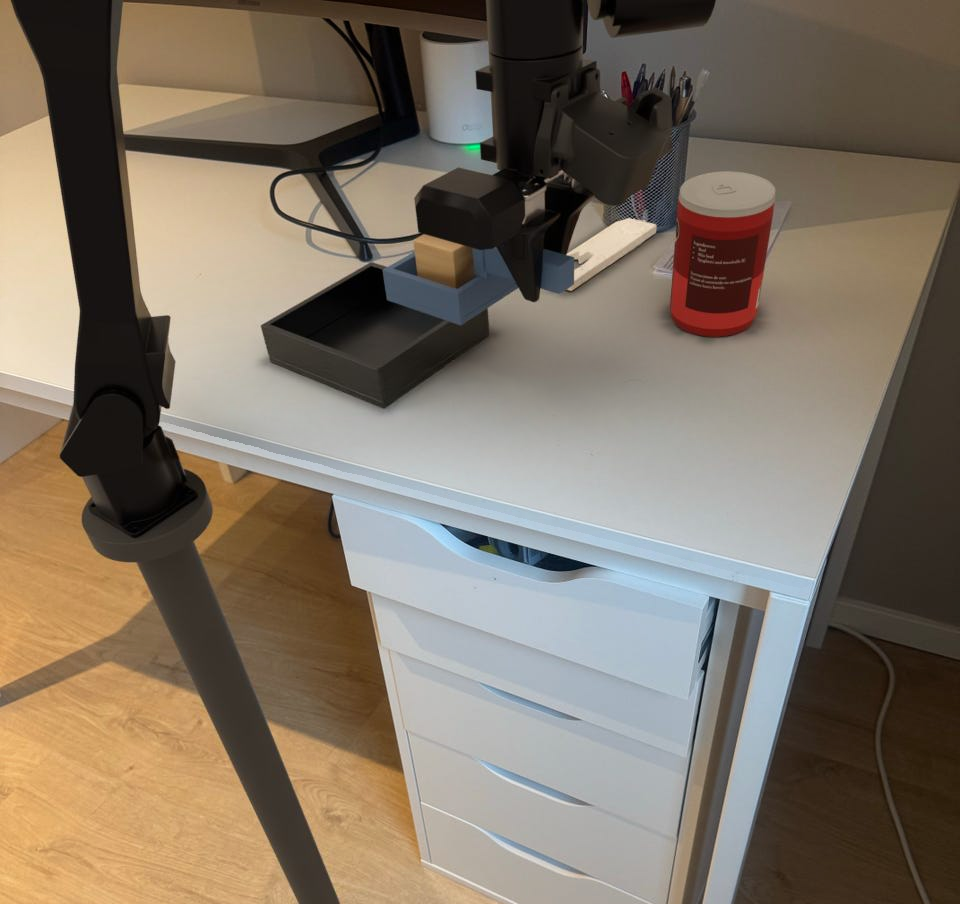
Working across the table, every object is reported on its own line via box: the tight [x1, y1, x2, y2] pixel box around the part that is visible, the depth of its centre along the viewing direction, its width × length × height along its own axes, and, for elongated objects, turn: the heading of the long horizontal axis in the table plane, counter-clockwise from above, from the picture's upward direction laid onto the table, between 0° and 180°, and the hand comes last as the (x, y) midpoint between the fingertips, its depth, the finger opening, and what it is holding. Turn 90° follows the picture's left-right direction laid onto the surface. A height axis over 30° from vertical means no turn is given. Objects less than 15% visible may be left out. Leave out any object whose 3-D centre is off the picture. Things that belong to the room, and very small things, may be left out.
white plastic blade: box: [566, 217, 657, 292], centre depth 91 cm, size 5×15×1 cm, turn 140°
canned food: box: [669, 171, 776, 338], centre depth 77 cm, size 8×8×11 cm
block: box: [413, 234, 478, 289], centre depth 70 cm, size 4×4×4 cm
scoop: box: [383, 247, 575, 325], centre depth 68 cm, size 8×15×5 cm, turn 51°
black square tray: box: [260, 261, 490, 409], centre depth 80 cm, size 14×14×4 cm
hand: (540, 294), depth 66 cm, fingers closed on scoop, 2 cm apart
